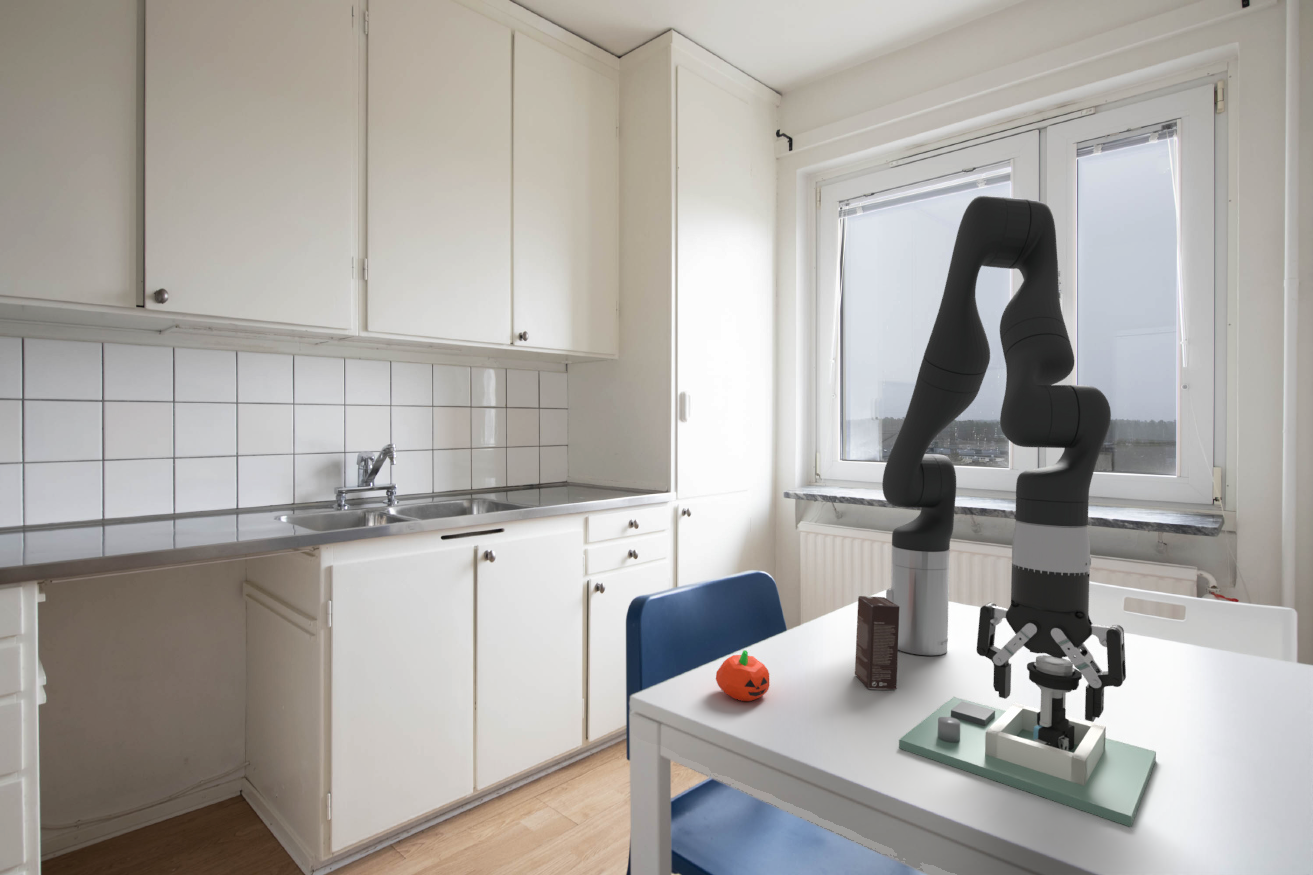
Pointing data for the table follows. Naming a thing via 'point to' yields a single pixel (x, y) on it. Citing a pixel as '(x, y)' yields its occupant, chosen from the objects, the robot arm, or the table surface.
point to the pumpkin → (743, 677)
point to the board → (1036, 757)
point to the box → (877, 642)
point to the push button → (1054, 700)
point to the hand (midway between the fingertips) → (1046, 707)
